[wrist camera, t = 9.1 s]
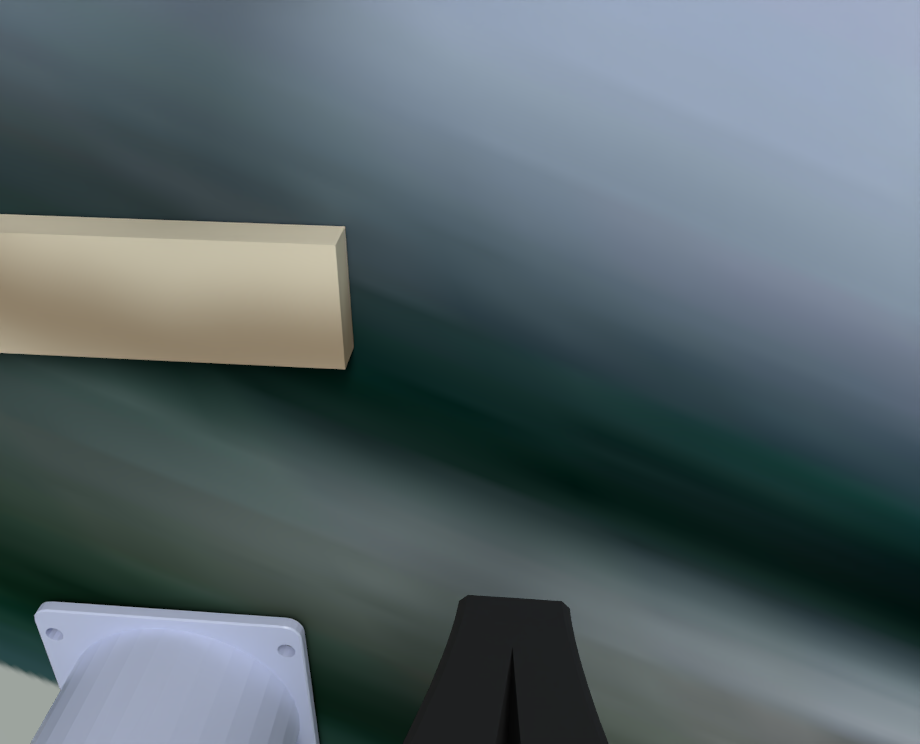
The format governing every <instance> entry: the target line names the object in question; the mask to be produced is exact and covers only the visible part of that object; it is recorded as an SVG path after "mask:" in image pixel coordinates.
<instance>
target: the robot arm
mask: <svg viewBox="0 0 920 744" xmlns="http://www.w3.org/2000/svg"><path fill="white" fill-rule="evenodd" d="M34 617H35V622H36V625H37V627H38V630H39V633H40V636H41V638H42V641H43V644H44V647H45V649H46V652H47V655H48V657H49V660H50V663H51V666H52V668H53V671H54V674H55V677H56V679H57V682H58V685H59V687H60V690H61V691H60V692H59V694H58V696H57V698H56V699H55V701H54V703H53V705H52V706H51V708H50V710H49V712H48V713H47V715H46V717H45V719H44V720H43V722H42V724H41V726H40V727H39V729H38V731H37V733H36V734H35V736H34V738H33V740H32V741H31V743H30V744H320V743H319V736H318V728H317V721H316V713H315V706H314V698H313V691H312V683H311V676H310V668H309V661H308V653H307V646H306V638H305V631H304V628H303V626H302V625H301V624H300V623H299V622H298V621H296V620H294V619H291V618H285V617H270V616H256V615H241V614H227V613H213V612H198V611H184V610H169V609H155V608H140V607H126V606H111V605H97V604H82V603H68V602H54V601H53V602H45V603H43V604H41V606H40V607H39V609H38V611H37V612H36V614H35V615H34ZM287 645H289V646H287ZM403 744H608V741H607V738H606V736H605V733H604V731H603V728H602V725H601V723H600V720H599V717H598V714H597V712H596V709H595V706H594V703H593V700H592V697H591V694H590V691H589V687H588V684H587V681H586V678H585V674H584V671H583V668H582V664H581V661H580V657H579V653H578V649H577V645H576V641H575V637H574V632H573V627H572V622H571V615H570V608H569V607H568V606H566V605H565V604H564V603H563V602H562V601H550V600H535V599H520V598H505V597H490V596H474V595H467V596H466V597H464V598H463V599H461V600H460V601H459V604H458V608H457V613H456V617H455V621H454V624H453V627H452V630H451V633H450V636H449V639H448V642H447V645H446V648H445V650H444V653H443V656H442V658H441V661H440V663H439V666H438V668H437V670H436V673H435V675H434V678H433V680H432V683H431V685H430V687H429V689H428V691H427V694H426V696H425V698H424V700H423V702H422V704H421V706H420V708H419V711H418V713H417V715H416V717H415V719H414V721H413V723H412V725H411V728H410V730H409V732H408V734H407V736H406V738H405V740H404V742H403Z"/></svg>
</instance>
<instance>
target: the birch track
mask: <svg viewBox="0 0 920 744" xmlns="http://www.w3.org/2000/svg"><path fill="white" fill-rule="evenodd" d="M353 348H354V344H353V330H352V316H351V302H350V288H349V275H348V261H347V247H346V233H345V226H317V225H289V224H261V223H233V222H205V221H177V220H149V219H122V218H94V217H66V216H38V215H10V214H0V353H13V354H34V355H55V356H76V357H97V358H118V359H139V360H160V361H181V362H201V363H222V364H243V365H264V366H285V367H306V368H327V369H346V366H347V363H348V361H349V358H350V356H351V353H352V350H353Z"/></svg>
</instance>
